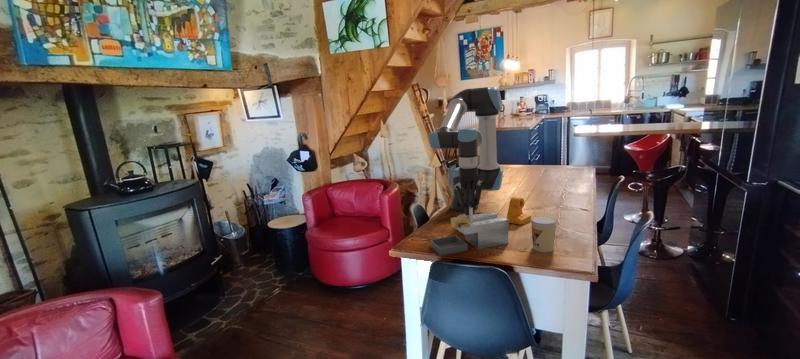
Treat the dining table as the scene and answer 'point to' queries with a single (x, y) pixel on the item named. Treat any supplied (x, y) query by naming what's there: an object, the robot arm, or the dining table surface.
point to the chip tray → (448, 245)
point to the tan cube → (465, 220)
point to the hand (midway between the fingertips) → (470, 222)
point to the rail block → (486, 231)
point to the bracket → (517, 211)
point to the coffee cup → (543, 233)
